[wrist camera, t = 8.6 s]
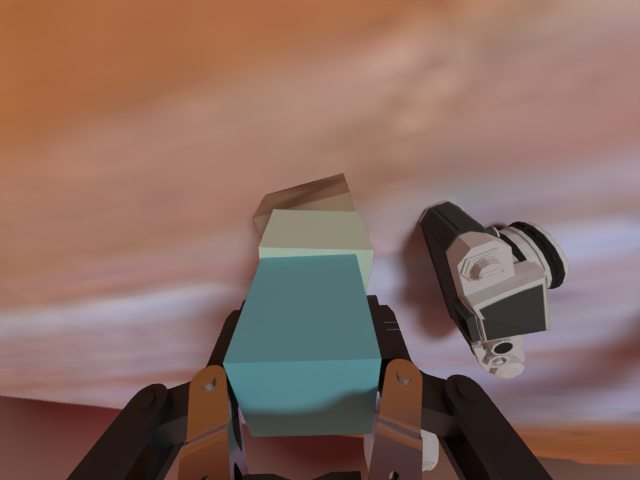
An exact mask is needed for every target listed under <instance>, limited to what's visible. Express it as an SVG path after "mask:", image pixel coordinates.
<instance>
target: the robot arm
mask: <svg viewBox="0 0 640 480" xmlns="http://www.w3.org/2000/svg"><path fill="white" fill-rule="evenodd" d="M366 297H367V301H368V305H369V309H370V313H371V317H372V322H373V326H374V330H375V334H376V338H377V342H378V346H379V350H380V355H381V366H380V374H379V381H378V389H377V391H379V393H380V398H381V403H380V409H379V415H378V420H377V426H376V432H375V438H374V444H373V450H372V456H371V462H370V468H369V474H368V479H367V480H422V462H423V440H422V437H421V429H422V430H425V431H427V432H430V433H433V434H436V436H437V438H438V440H439V442H440V444H441V446H442V447H443V449H444V451H445V453H446V455H447V457H448V459H449V460H450V463H451V464H452V466H453V468H454V470H455V472H456V474H457V476H458V478H459V480H553V479H552V478H551V477H550V475H549V474H548V473H547V471H546V470H545V469H544V468H543V466H542V465H541V464H540V462H539V461H538V460H537V459H536V457H535V456H534V455H533V453H532V452H531V451H530V449H529V448H528V447H527V446H526V444H525V443H524V442H523V440H522V439H521V438H520V437H519V435H518V434H517V433H516V431H515V430H514V429H513V428H512V426H511V425H510V424H509V422H508V421H507V420H506V419H505V417H504V416H503V415H502V413H501V412H500V411H499V410H498V408H497V407H496V406H495V404H494V403H493V402H492V401H491V399H490V398H489V397H488V395H487V394H486V393H485V392H484V390H483V389H482V388H481V387H480V385H479V384H477V383H476V382H475V381H474V380H472V379H471V378H469V377H466V376H464V375H452V376H450V377H448V379H447V380H445V379H441V378H438V377H434V376H431V375H428V374H426V373H424V372H422V371H421V370H419V369H418V368H417V367H416V366H415V365H414V364H413V362H412V361H411V359H410V356H409V353H408V351H407V348H406V345H405V342H404V339H403V337H402V334H401V331H400V328H399V325H398V323H397V320H396V317H395V314H394V312H393V311H392V310H391V309H390V308H389V307H388V306H387V305H379V303H378V299H377V296H376V295H366ZM245 301H246V300H244V301H243V303H242V306H241V309H240V310H234V311H233V312H232V313H231V314H230V315H229V316H228V317H227V318H226V321H225V323H224V326H223V329H222V330H221V333H220V337H219V338H218V340H217V342H216V345H215V347H214V350H213V352H212V354H211V357H210V359H209V362H208V364H207V366H206V367H205V368H204V369H202V370H201V371H199V372H198V373H197V374H196V375H195V376H194V378H193V379H192V381H190V382H188V383H185V384H182V385H179V386H176V387H173V388H170V389H167V388H166V387H165V386H164V385H163V384H152V385H149V386H147V387H145V388H143V389H142V390H140V391H139V392H138V393H137V394H136V395H135V396H134V397H133V398H132V399H131V400H130V401H129V403H128V404H127V405H126V406H125V408H124V409H123V410H122V412H121V413H120V414H119V415H118V416H117V418H116V419H115V420H114V421H113V422H112V424H111V425H110V426H109V428H108V429H107V430H106V431H105V432H104V434H103V435H102V436H101V437H100V439H99V440H98V441H97V442H96V444H95V445H94V446H93V447H92V449H91V450H90V451H89V452H88V454H87V455H86V456H85V457H84V458H83V460H82V461H81V462H80V463H79V465H78V466H77V467H76V468H75V470H74V471H73V472H72V473H71V474H70V476H69V477H68V478H67V479H66V480H164V478H165V476H166V474H167V472H168V471H169V469H170V467H171V465H172V464H173V462H174V460H175V458H176V456H177V454H178V452H179V451H180V456H179V469H178V480H289V479H286V478H283V477H280V476H278V475H275V474H249V470H248V466H247V462H246V458H245V451H244V442H243V433H242V425H241V416H240V408H239V404H238V401H237V399H236V396H235V393H234V391H233V388H232V386H231V383H230V381H229V378H228V376H227V373H226V371H225V368H224V366H223V362H224V359H225V356H226V353H227V351H228V348H229V345H230V342H231V340H232V337H233V334H234V331H235V329H236V326H237V323H238V320H239V318H240V315H241V312H242V309H243V307H244V304H245ZM185 441H186V443H185V444H184V442H185ZM180 449H181V450H180ZM313 480H361V473H360V471H353V472H331V473H328V474H325V475H323V476H320V477H318V478H315V479H313Z"/></svg>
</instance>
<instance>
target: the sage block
mask: <svg viewBox="0 0 640 480" xmlns="http://www.w3.org/2000/svg"><path fill="white" fill-rule="evenodd" d="M258 249H259V258H260V260H261V258H268V257H292V256H316V255H340V254H356V255H357V260H358V264H359V268H360V272H361V276H362V280H363V284H364V289H365V293H366V294H367V288H368V283H369V277H370V271H371V266H372V260H373V254H374V248H373V246H372V243H371V241H370V238H369V235H368V233H367V230H366V227H365V225H364V222H363V220H362V217H361V214H360V212H343V211H311V210H278V209H273V212H272V214H271V217H270V219H269V222H268V224H267V227H266V229H265V232H264V234H263V237H262V239H261V242H260V244H259V247H258Z"/></svg>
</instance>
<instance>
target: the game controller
mask: <svg viewBox="0 0 640 480" xmlns="http://www.w3.org/2000/svg"><path fill="white" fill-rule="evenodd" d="M378 415H379V413H376V412H375V413H374V419H373V426H372V434H364V452H365V458H366V463H367V466H368V470H369V468H370V462H371V456H372V450H373V444H374V438H375V432H376V426H377V420H378ZM421 437H422V440H423V462H422V471H424V470H429V471H430V470H431V469H433V468H434V467H435V466H436V464H437V462H438V455H439V441H438V438H437V436H436V434H433V433H430V432H427V431H425V430H422V429H421Z"/></svg>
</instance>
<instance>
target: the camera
mask: <svg viewBox="0 0 640 480" xmlns="http://www.w3.org/2000/svg"><path fill="white" fill-rule="evenodd" d="M419 222H420V225H421V228H422V231H423V235H424V238H425V241H426V244H427V247H428V250H429V253H430V256H431V259H432V262H433V265H434V269H435V272H436V275H437V278H438V281H439V284H440V287H441V290H442V293H443V296H444V300H445V303H446V306H447V309H448V312H449V315H450V317H451V319H453V320H454V322H455V323H456V325H457V327H458V328H459V330H460V331H461V333H462V335H463V336H464V338H465V340H466V341H467V343H468V344H469V346H470V349H471V351H472V353H473V354H474V355H475V356H476V359H477V361H478V363H479V364H480V365H481V366H482V368H483V369H484V370H485V371H486V372H490V373H493V374H494V375H495V376H496V377H497V378H499V379H512V378H514V377H516V376H518V375H520V374H522V372H523V370H524V368H525V366H524V365H523V364H522V363H523V362H524V361H525V357H524V349H523V340H522V335H523V334H528V333H534V332H539V331H545V330H550V323H549V303H548V289H554V288H557V287H559V286H560V285H561V284H562V283H563V282H564V281H565V280H566V279H567V276H568V273H569V268H568V263H567V259H566V257H565V255H564V253H563V251H562V249H561V247H560V246H559V244H558V243H557V242H556V241H555V240H554V238H553V237H552V236H551V235H550V234H549V233H548V232H547V231H545V230H544V229H543V228H541V227H540V226H538V225H536V224H533V223H530V222H514V223H512V224H511V225H509V226H508V227H505V228H503V229H501V230H500V231H498V230H497V229H496V228H495V227H489V228H485V227H483V226H482V225H481V224H479V223H478V222H477V221H475V220H474V219H473V218H471V217H470V216H469V215H468V214H466V213H465V212H464V211H462V210H461V208H459V207H458V206H457V205H455V204H453V203H451V202H449V201H448V200H446V199H445V200H443V201H440V202H438V203H436V204H433V205H431V206H428V207H427V209H426V210H425V212H424V213H423V215H422V217H421V218H420V220H419Z"/></svg>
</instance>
